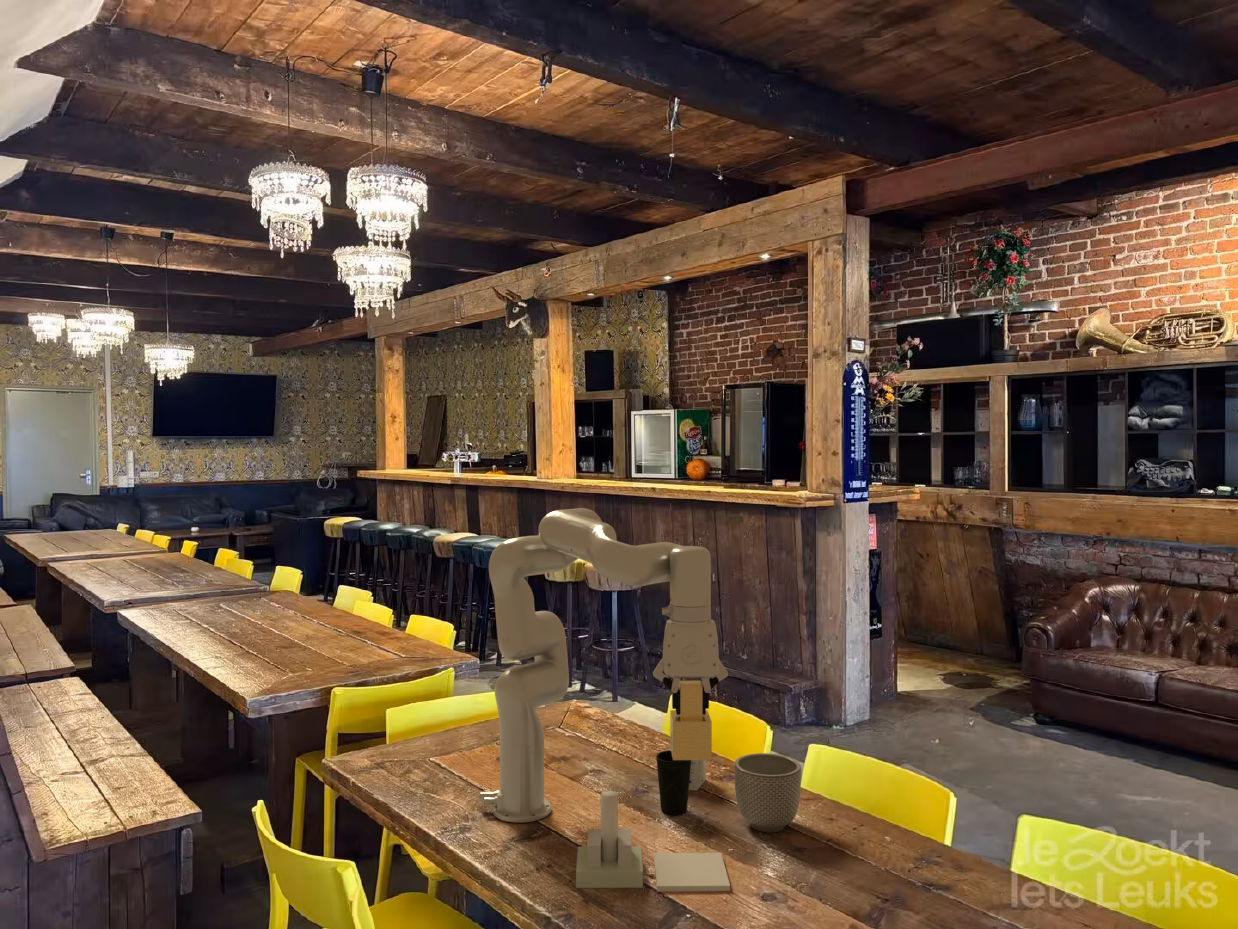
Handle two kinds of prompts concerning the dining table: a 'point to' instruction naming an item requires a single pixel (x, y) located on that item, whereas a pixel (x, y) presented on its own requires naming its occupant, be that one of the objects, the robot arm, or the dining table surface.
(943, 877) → the dining table surface
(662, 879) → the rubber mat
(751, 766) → the planter
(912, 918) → the dining table surface
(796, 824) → the dining table surface
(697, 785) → the container
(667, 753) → the cup
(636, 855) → the vise
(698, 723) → the stepped wooden tower
